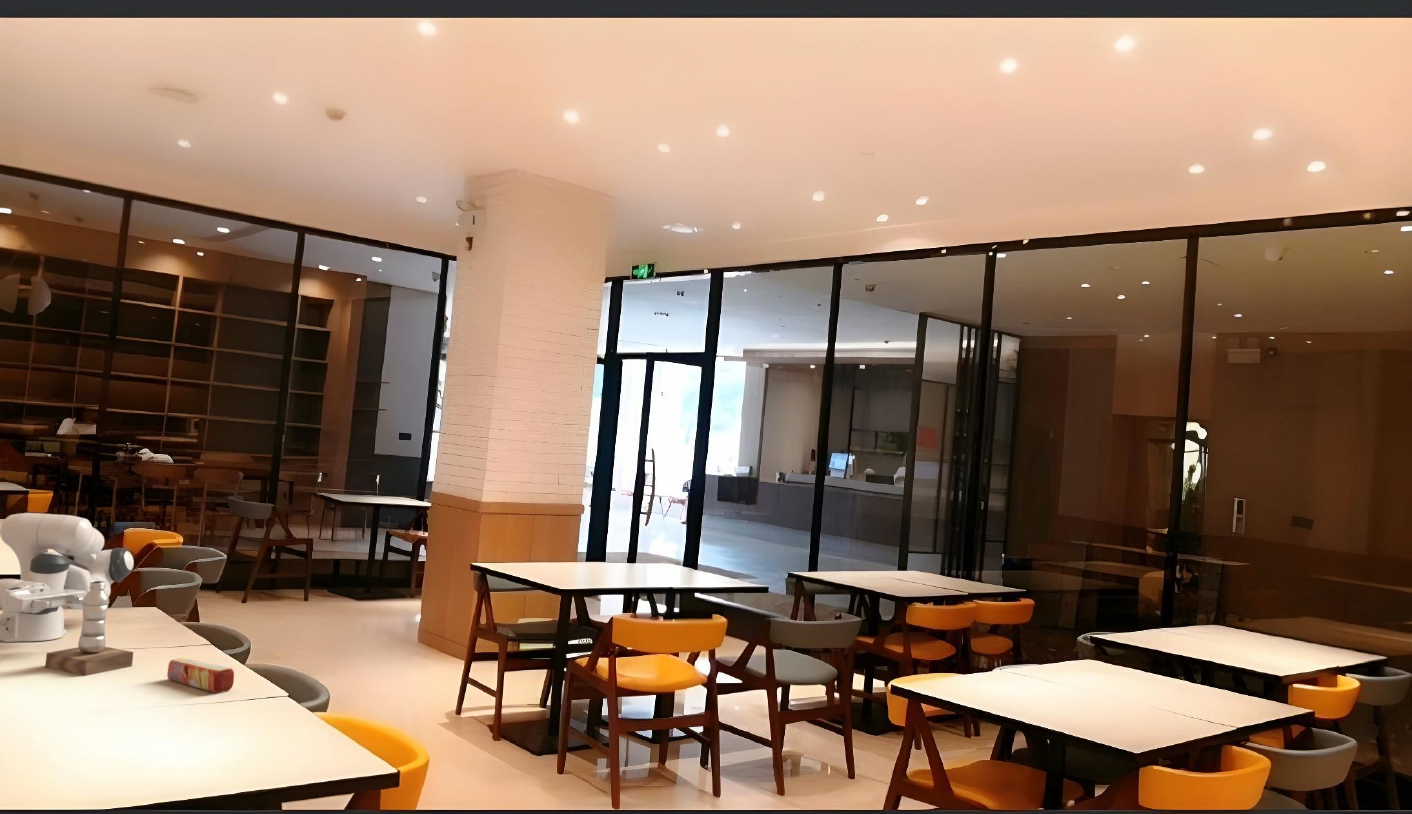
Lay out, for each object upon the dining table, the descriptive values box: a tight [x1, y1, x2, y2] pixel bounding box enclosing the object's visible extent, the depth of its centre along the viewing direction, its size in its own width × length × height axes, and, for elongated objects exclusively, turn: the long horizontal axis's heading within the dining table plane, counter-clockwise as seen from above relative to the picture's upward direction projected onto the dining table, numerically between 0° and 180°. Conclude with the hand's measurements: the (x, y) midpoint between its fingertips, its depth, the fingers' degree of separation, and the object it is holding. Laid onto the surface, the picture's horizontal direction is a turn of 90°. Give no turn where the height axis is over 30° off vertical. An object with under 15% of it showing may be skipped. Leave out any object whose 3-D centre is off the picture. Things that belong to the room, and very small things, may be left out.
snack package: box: [166, 656, 235, 694], centre depth 256 cm, size 21×7×7 cm, turn 62°
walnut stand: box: [45, 646, 134, 676], centre depth 268 cm, size 16×14×4 cm
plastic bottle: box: [77, 581, 110, 653], centre depth 268 cm, size 6×7×20 cm
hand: (65, 602), depth 272 cm, fingers open, 8 cm apart
